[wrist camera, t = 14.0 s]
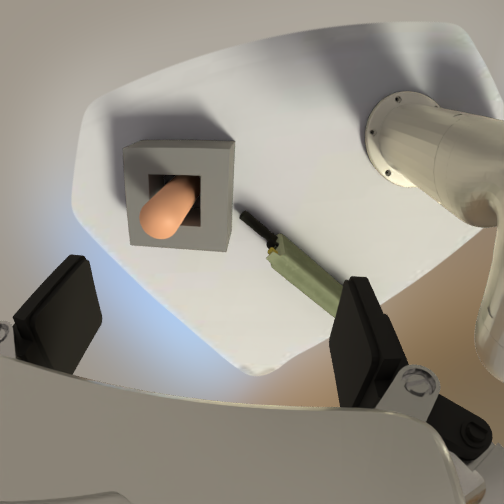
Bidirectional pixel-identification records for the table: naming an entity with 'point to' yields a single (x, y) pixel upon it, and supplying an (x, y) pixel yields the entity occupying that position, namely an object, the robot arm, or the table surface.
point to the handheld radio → (298, 267)
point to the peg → (170, 206)
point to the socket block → (182, 163)
